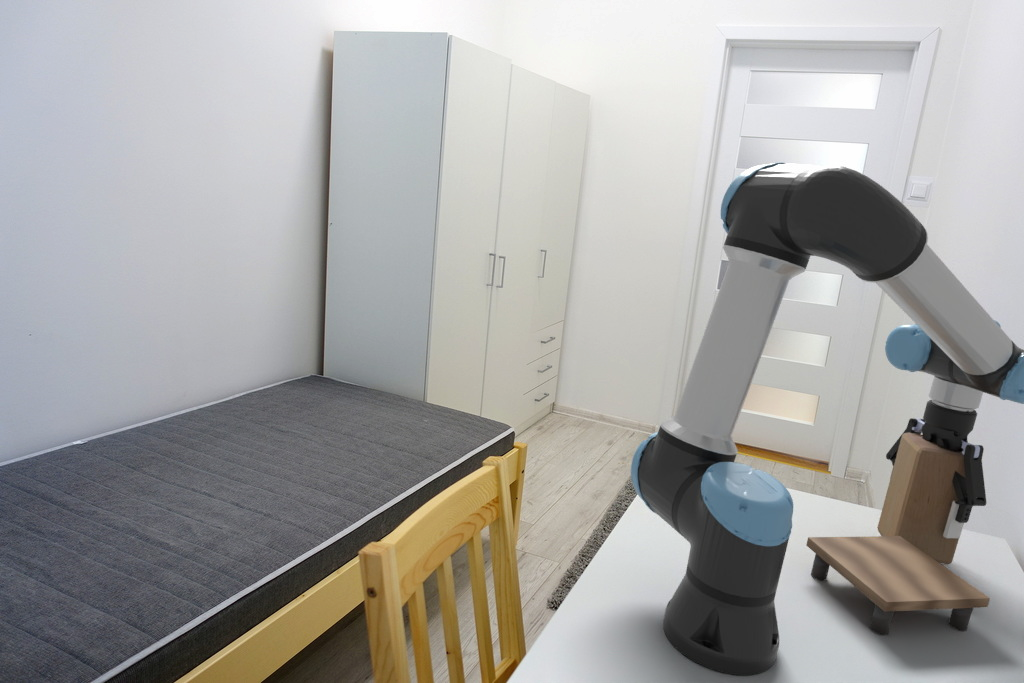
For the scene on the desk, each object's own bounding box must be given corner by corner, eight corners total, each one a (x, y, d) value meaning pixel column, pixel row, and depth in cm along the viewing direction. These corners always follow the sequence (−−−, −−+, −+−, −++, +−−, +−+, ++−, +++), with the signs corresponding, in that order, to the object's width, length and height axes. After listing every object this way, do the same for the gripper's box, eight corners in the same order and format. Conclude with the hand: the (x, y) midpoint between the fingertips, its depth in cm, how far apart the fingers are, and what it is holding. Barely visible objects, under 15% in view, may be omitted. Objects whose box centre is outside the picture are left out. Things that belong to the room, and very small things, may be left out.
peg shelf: (877, 639, 101) (886, 602, 100) (800, 569, 118) (808, 537, 117) (979, 634, 105) (990, 598, 104) (891, 567, 122) (899, 536, 121)
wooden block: (953, 568, 122) (985, 459, 118) (891, 555, 124) (920, 448, 119) (931, 541, 132) (960, 440, 127) (874, 529, 133) (901, 429, 129)
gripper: (1036, 431, 111) (998, 554, 116) (916, 384, 134) (889, 488, 139) (997, 429, 109) (960, 555, 114) (882, 381, 132) (856, 487, 137)
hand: (921, 518), depth 126 cm, fingers open, 12 cm apart
